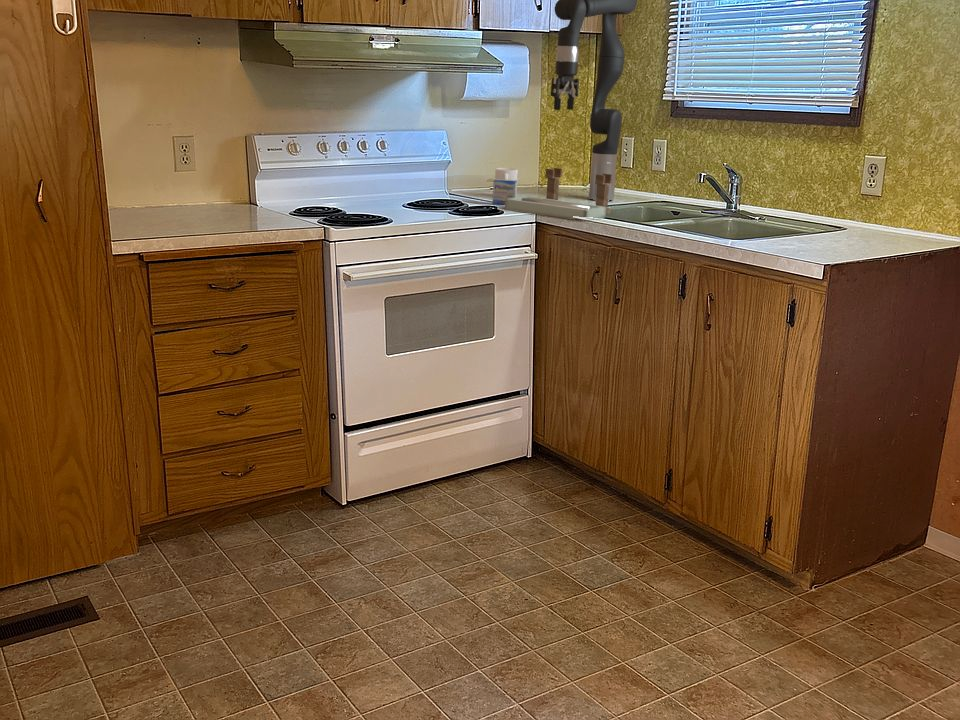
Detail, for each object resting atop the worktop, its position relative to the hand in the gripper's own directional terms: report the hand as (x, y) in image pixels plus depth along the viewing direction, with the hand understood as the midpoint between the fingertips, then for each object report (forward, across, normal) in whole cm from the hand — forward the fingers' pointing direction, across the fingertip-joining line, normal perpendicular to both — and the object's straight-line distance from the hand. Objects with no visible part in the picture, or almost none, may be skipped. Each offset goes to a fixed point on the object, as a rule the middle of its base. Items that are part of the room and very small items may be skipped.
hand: (563, 109), depth 319 cm
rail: (+32, +16, +9) cm, 37 cm away
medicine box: (+33, +13, -14) cm, 38 cm away
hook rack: (+33, +2, +9) cm, 34 cm away
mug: (+33, -2, -24) cm, 41 cm away
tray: (+33, +16, +9) cm, 38 cm away
